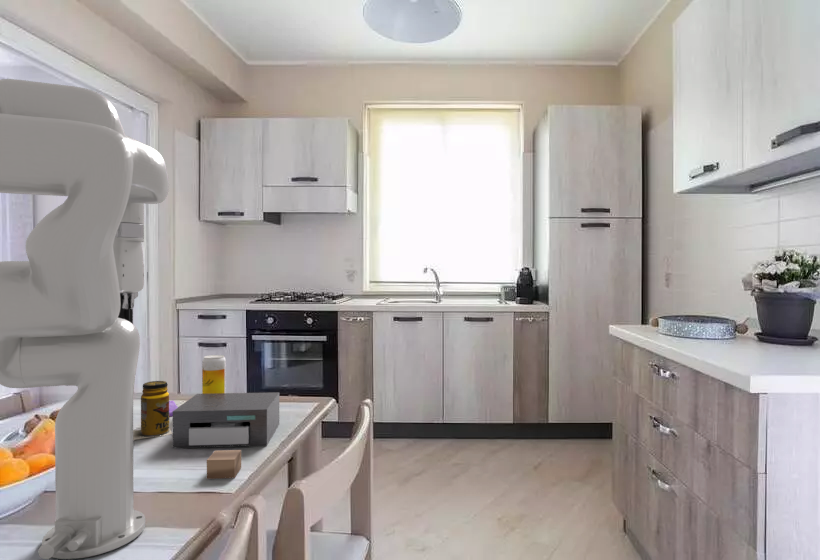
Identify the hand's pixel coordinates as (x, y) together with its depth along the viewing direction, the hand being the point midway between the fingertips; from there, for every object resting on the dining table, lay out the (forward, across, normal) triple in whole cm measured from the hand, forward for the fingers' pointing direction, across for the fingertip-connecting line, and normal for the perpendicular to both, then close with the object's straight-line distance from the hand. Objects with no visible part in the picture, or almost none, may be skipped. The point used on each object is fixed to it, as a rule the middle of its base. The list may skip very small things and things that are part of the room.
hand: (122, 329), depth 97 cm
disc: (+25, -18, +14) cm, 34 cm away
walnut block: (+27, +3, +20) cm, 34 cm away
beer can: (+27, -42, +4) cm, 50 cm away
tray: (+26, -19, +15) cm, 35 cm away
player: (+27, -20, +15) cm, 37 cm away
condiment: (+27, -23, -4) cm, 36 cm away
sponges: (+28, -42, -9) cm, 51 cm away
